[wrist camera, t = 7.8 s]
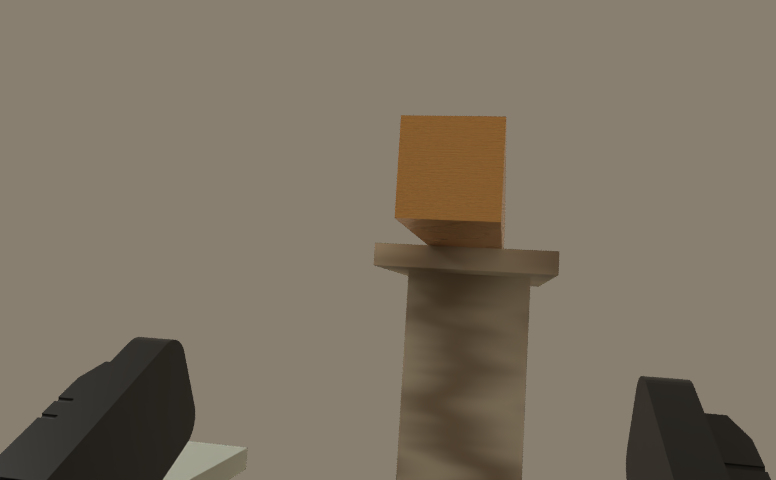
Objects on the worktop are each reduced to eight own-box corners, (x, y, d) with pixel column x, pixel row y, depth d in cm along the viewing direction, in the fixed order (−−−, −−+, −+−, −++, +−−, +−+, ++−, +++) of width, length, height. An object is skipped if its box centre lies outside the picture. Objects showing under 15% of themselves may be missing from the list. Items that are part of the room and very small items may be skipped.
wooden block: (394, 217, 20) (401, 115, 20) (454, 266, 43) (456, 218, 44) (501, 222, 19) (506, 116, 19) (502, 268, 43) (504, 220, 43)
